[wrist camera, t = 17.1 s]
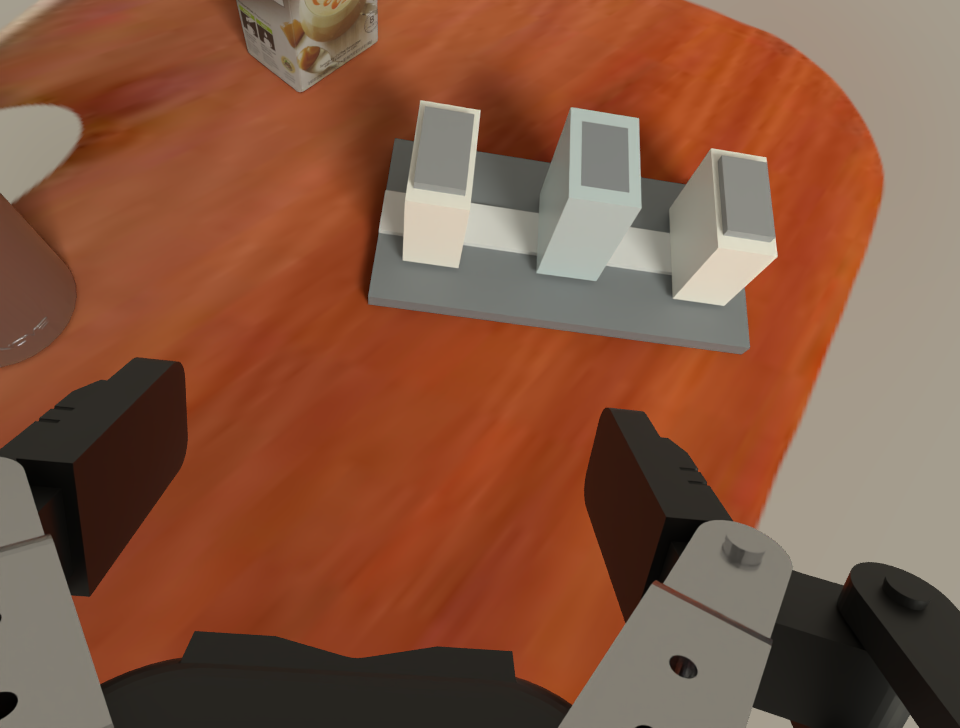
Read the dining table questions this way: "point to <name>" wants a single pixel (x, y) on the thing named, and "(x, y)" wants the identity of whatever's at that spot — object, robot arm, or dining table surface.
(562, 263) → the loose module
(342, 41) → the coffee box
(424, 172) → the module
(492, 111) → the dining table surface
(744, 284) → the module
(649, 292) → the mounting board
